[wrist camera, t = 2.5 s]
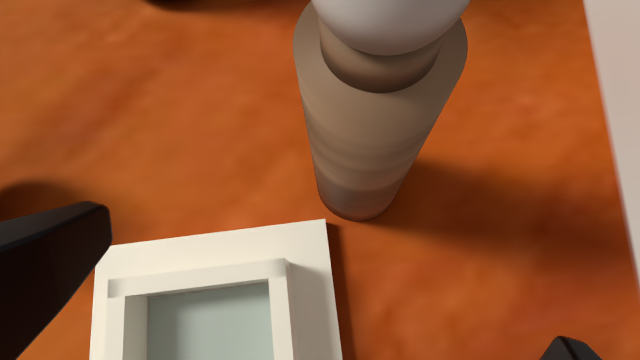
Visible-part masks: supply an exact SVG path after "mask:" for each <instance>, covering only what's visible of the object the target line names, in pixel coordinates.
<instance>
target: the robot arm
mask: <svg viewBox="0 0 640 360" xmlns="http://www.w3.org/2000/svg"><path fill="white" fill-rule="evenodd" d="M112 239H113V234H112V226H111V218H110V211H109V209H108V208H107V206H105V205H103V204H99V203H96V202H92V201H83V202H79V203H75V204H71V205H67V206H63V207H59V208H55V209H51V210H47V211H42V212H38V213H34V214H30V215H26V216H22V217H18V218H14V219H10V220H6V221H2V222H0V360H16V359H17V358H18V357H19V356H20V355H21V354H22V353H23V352H24V350H25V349H26V348H27V347H28V346H29V345H30V344H31V343H32V342H33V341H34V340H35V339H36V337H37V336H38V335H39V334H40V333H41V332H42V331H43V330H44V329H45V328H46V327H47V325H48V324H49V323H50V322H51V321H52V320H53V319H54V318H55V317H56V316H57V314H58V313H59V312H60V311H61V310H62V309H63V308H64V306H65V305H66V304H67V303H68V301H69V300H70V299H71V298H72V296H73V295H74V294H75V292H76V291H77V290H78V288H79V287H80V286H81V284H82V283H83V282H84V281H85V279H86V278H87V277H88V275H89V274H90V273H91V271H92V270H93V269H94V267H95V266H96V265H97V264H98V262H99V261H100V260H101V258H102V257H103V256H104V254H105V253H106V252H107V250H108V249H109V247H110V246H111V243H112ZM540 360H602V359H601V358H600V357H599V356H598V355H597V354H596V353H595V352H594V351H593V350H592V349H591V348H590V347H589V346H588V345H587V344H586V343H584V342H582V341H579V340H576V339H572V338H569V337H565V336H558V337H556V338H555V339H554V340H553V341H552V343H551V344H550V345H549V347H548V348H547V350H546V351H545V353H544V354H543V356H542V357H541V359H540Z"/></svg>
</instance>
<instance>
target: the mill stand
mask: <svg viewBox="0 0 640 360" xmlns="http://www.w3.org/2000/svg"><path fill="white" fill-rule="evenodd" d="M89 360H343V358H342V350H341V342H340V334H339V326H338V318H337V310H336V302H335V294H334V286H333V278H332V270H331V262H330V254H329V246H328V238H327V230H326V222H325V219H319V220H311V221H304V222H296V223H288V224H280V225H272V226H264V227H256V228H248V229H240V230H232V231H224V232H216V233H208V234H200V235H192V236H184V237H176V238H169V239H161V240H153V241H145V242H137V243H129V244H121V245H113V246H110V247H109V249H108V250H107V252H106V253H105V254H104V256H103V257H102V258H101V260H100V261H99V262H98V264H97V265H96V266H95V281H94V296H93V312H92V328H91V343H90V359H89Z"/></svg>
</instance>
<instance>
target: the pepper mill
mask: <svg viewBox="0 0 640 360" xmlns="http://www.w3.org/2000/svg"><path fill="white" fill-rule="evenodd" d="M470 1H471V0H311V1H310V2H309V4H308V5H307V6H306V7H305V9H304V10H303V12H302V14H301V15H300V17H299V20H298V22H297V24H296V28H295V31H294V37H293V54H294V60H295V65H296V71H297V76H298V82H299V87H300V93H301V98H302V104H303V109H304V115H305V121H306V126H307V132H308V137H309V143H310V148H311V154H312V159H313V165H314V170H315V176H316V181H317V187H318V192H319V195H320V198H321V200H322V202H323V203H324V205H325V206H326V207H327V208H328V209H329V210H330V211H331V212H332V213H334V214H335V215H337V216H338V217H341V218H343V219H346V220H350V221H365V220H369V219H372V218H375V217H377V216H379V215H380V214H382V213H383V212H384V211H385V210H386V209H387V208H388V207H389V206H390V204H391V203H392V201H393V199H394V197H395V196H396V194H397V192H398V190H399V188H400V186H401V185H402V183H403V181H404V179H405V177H406V175H407V173H408V172H409V170H410V168H411V166H412V164H413V162H414V161H415V159H416V157H417V155H418V153H419V151H420V150H421V148H422V146H423V144H424V142H425V140H426V139H427V137H428V135H429V133H430V131H431V129H432V127H433V126H434V124H435V122H436V120H437V118H438V116H439V115H440V113H441V111H442V109H443V107H444V105H445V104H446V102H447V100H448V98H449V96H450V94H451V93H452V91H453V89H454V87H455V85H456V83H457V81H458V80H459V78H460V76H461V73H462V71H463V69H464V66H465V62H466V59H467V50H468V47H467V36H466V31H465V28H464V25H463V23H462V20H461V18H460V16H461V15H462V13H463V12H464V11H465V9H466V8H467V6H468V4H469V3H470Z"/></svg>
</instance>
